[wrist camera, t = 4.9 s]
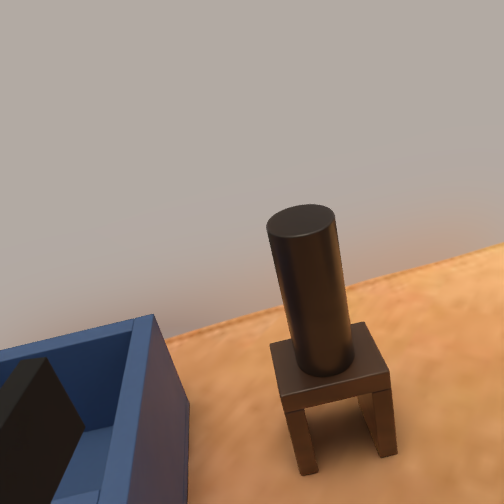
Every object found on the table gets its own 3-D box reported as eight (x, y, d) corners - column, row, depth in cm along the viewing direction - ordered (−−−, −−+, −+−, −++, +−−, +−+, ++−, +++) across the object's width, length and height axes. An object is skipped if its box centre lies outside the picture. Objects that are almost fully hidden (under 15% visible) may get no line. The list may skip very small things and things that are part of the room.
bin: (189, 403, 32) (153, 312, 28) (185, 611, 21) (125, 510, 17) (20, 443, 32) (-38, 358, 28) (-70, 670, 21) (-184, 582, 18)
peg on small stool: (374, 398, 29) (347, 188, 22) (398, 454, 26) (375, 223, 19) (288, 419, 29) (236, 215, 22) (300, 476, 26) (242, 256, 19)
